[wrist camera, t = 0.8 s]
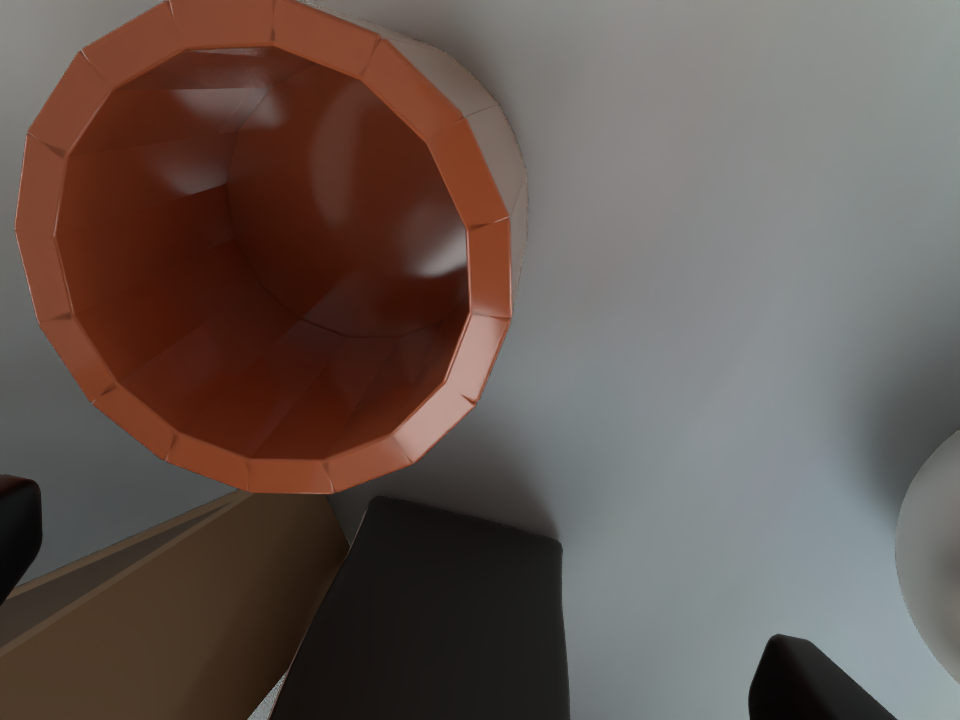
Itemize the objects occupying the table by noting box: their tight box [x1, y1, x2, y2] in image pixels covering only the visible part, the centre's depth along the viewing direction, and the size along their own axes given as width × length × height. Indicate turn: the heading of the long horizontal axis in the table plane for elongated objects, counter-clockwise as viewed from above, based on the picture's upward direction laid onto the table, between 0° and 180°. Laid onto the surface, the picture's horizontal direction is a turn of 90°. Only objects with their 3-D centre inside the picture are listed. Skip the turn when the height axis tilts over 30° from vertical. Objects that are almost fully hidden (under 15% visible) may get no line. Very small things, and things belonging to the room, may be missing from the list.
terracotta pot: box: [14, 0, 528, 494], centre depth 18 cm, size 9×9×8 cm
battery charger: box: [267, 496, 570, 720], centre depth 20 cm, size 7×4×11 cm, turn 77°
